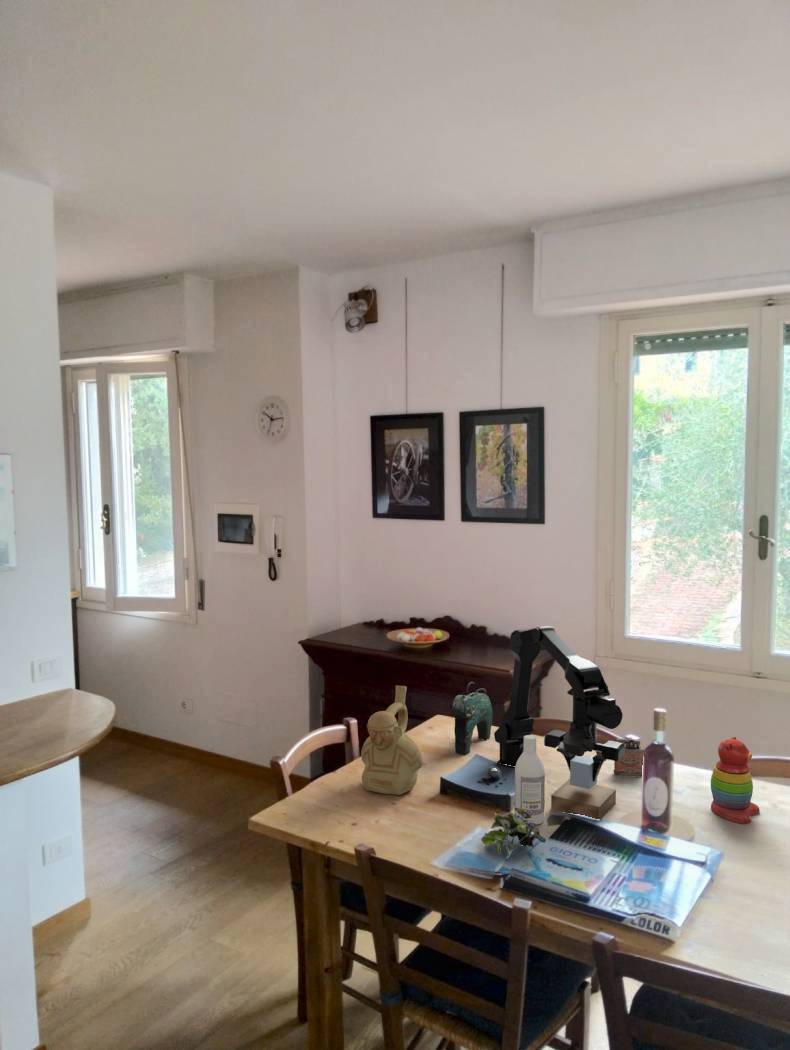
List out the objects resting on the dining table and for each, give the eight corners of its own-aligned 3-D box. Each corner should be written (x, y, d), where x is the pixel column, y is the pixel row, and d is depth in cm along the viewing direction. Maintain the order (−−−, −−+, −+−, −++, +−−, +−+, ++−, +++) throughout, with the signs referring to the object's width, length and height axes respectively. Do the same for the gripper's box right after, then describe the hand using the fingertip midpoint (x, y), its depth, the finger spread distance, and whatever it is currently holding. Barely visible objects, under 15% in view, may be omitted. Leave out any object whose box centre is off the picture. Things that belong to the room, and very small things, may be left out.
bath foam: (550, 822, 182) (551, 739, 180) (525, 828, 179) (526, 743, 177) (532, 810, 188) (533, 730, 186) (508, 816, 185) (509, 734, 183)
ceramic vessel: (346, 795, 197) (346, 699, 195) (377, 768, 215) (376, 679, 213) (409, 806, 191) (408, 706, 189) (435, 777, 209) (435, 686, 207)
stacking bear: (746, 826, 179) (748, 751, 178) (702, 813, 186) (704, 740, 185) (761, 810, 187) (764, 739, 186) (719, 799, 194) (721, 729, 193)
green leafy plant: (522, 870, 170) (555, 831, 168) (505, 884, 161) (540, 843, 158) (485, 831, 175) (517, 793, 173) (466, 842, 166) (499, 802, 164)
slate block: (570, 784, 189) (570, 760, 189) (577, 777, 193) (577, 754, 193) (589, 789, 187) (590, 765, 186) (597, 782, 191) (597, 758, 190)
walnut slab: (551, 811, 189) (551, 795, 188) (569, 793, 199) (569, 778, 198) (598, 823, 182) (599, 806, 182) (615, 805, 192) (615, 789, 192)
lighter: (642, 772, 211) (643, 736, 211) (645, 777, 208) (646, 741, 207) (612, 771, 212) (613, 735, 211) (614, 776, 209) (615, 740, 208)
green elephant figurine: (466, 758, 223) (466, 689, 221) (446, 753, 226) (446, 686, 225) (496, 737, 239) (496, 674, 238) (477, 734, 243) (477, 671, 241)
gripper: (535, 718, 187) (534, 781, 188) (611, 733, 177) (609, 799, 178) (553, 706, 197) (552, 766, 198) (626, 720, 186) (625, 783, 187)
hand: (583, 778), depth 190 cm, fingers closed on slate block, 5 cm apart
